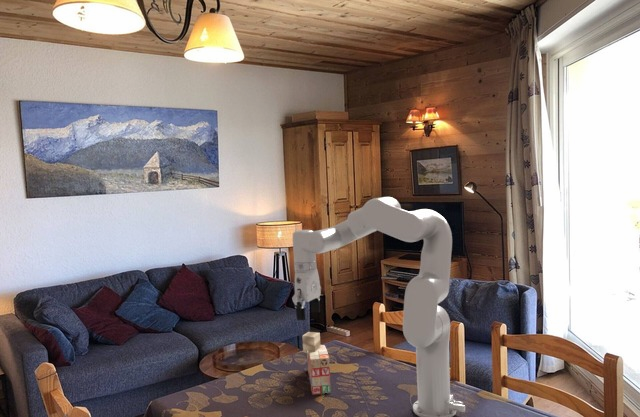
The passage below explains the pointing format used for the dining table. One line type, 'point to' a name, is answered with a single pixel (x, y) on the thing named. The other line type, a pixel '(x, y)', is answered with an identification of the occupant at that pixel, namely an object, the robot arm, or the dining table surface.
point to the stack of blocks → (319, 370)
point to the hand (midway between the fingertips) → (308, 315)
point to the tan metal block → (311, 341)
